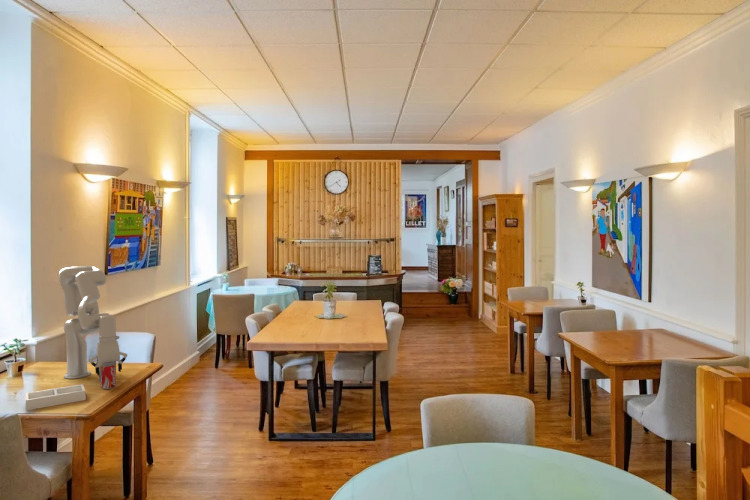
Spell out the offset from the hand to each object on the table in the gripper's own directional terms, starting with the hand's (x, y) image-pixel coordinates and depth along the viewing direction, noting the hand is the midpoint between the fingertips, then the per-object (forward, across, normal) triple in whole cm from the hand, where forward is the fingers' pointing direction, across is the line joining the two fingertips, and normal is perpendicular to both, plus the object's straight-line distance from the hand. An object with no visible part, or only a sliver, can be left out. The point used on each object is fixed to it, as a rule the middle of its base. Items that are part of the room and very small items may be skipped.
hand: (109, 373), depth 251 cm
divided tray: (+8, +23, +7) cm, 26 cm away
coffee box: (+7, -1, -13) cm, 15 cm away
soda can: (+8, 0, -1) cm, 8 cm away
